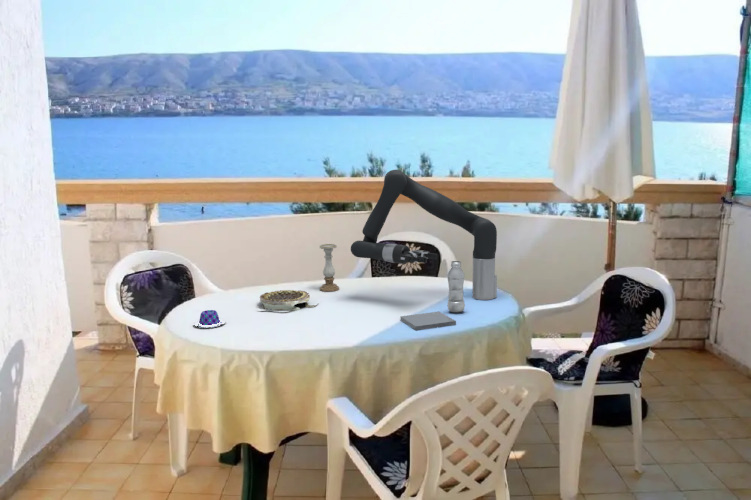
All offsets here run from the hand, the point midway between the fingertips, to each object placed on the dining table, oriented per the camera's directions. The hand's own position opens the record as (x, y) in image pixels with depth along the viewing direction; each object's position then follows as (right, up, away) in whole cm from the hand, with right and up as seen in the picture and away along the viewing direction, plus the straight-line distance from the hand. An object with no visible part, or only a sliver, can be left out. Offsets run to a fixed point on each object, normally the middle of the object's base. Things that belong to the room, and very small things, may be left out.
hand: (431, 258), depth 254 cm
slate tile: (-3, -23, -15) cm, 28 cm away
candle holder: (-43, -15, +39) cm, 60 cm away
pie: (-60, -20, +16) cm, 65 cm away
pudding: (-84, -25, -12) cm, 89 cm away
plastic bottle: (+9, -21, -2) cm, 23 cm away
